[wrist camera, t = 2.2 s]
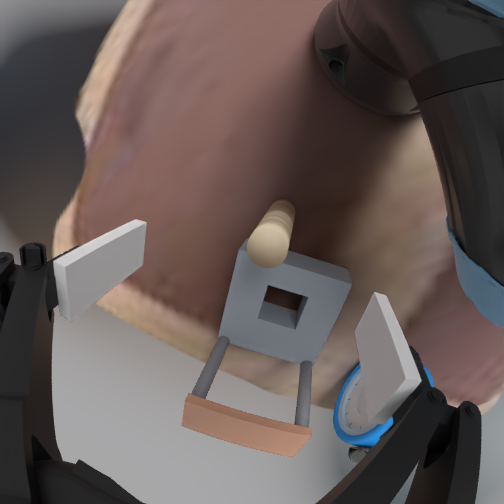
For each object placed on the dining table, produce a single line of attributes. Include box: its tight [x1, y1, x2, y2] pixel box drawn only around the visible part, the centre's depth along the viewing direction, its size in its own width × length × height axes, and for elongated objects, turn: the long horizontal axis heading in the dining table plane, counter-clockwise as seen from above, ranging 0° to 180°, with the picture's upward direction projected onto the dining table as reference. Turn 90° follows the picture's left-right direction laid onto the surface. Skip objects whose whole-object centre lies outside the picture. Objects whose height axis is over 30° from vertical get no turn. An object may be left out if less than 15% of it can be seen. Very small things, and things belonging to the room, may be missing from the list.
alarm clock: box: [333, 363, 434, 465], centre depth 28 cm, size 13×6×15 cm, turn 150°
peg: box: [247, 199, 296, 268], centre depth 25 cm, size 3×3×12 cm
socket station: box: [182, 238, 352, 457], centre depth 27 cm, size 16×12×15 cm
